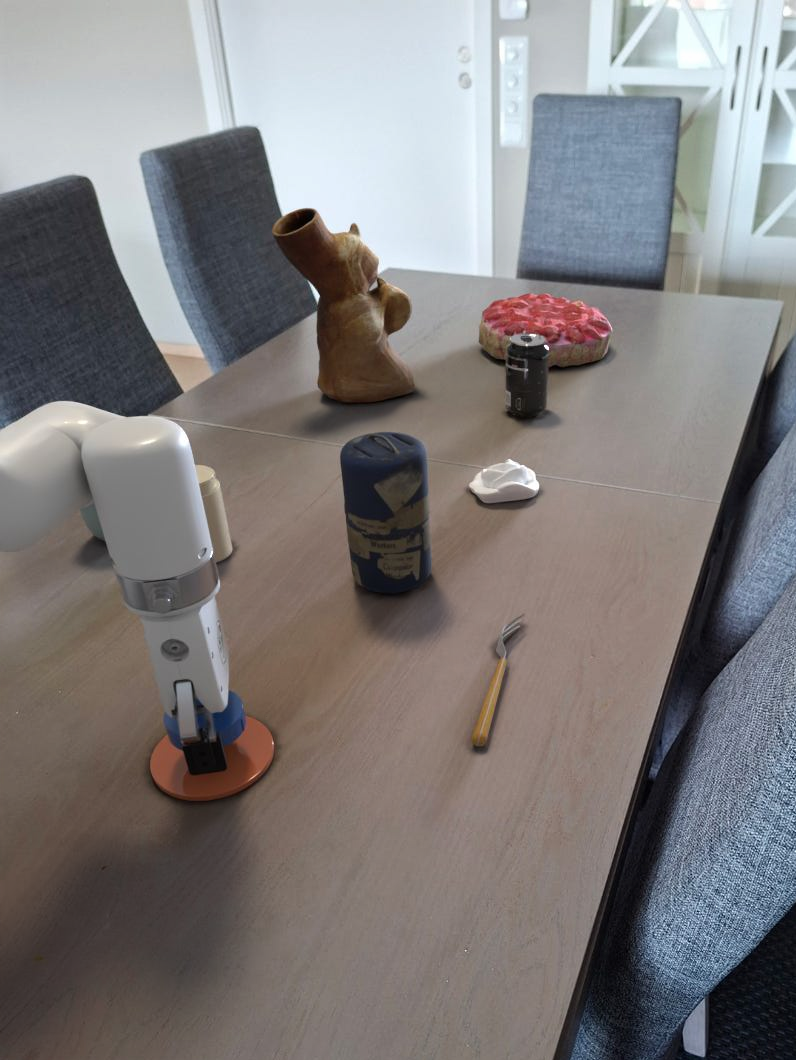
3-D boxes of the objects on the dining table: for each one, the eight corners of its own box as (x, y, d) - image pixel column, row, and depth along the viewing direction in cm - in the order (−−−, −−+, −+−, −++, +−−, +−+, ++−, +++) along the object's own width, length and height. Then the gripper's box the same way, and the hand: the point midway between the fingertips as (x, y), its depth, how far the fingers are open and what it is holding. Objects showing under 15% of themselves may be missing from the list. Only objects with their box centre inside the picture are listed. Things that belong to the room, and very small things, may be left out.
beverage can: (537, 401, 152) (539, 330, 145) (552, 416, 146) (556, 343, 139) (499, 406, 150) (499, 334, 143) (513, 422, 145) (514, 347, 138)
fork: (491, 738, 82) (525, 611, 98) (472, 732, 82) (509, 606, 98) (485, 756, 84) (519, 628, 99) (466, 750, 84) (503, 623, 99)
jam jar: (178, 568, 109) (159, 489, 103) (181, 542, 114) (163, 465, 108) (232, 562, 110) (216, 484, 104) (233, 536, 116) (218, 460, 109)
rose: (513, 484, 117) (453, 466, 122) (512, 515, 120) (454, 495, 124) (553, 457, 124) (495, 440, 128) (552, 486, 126) (495, 469, 131)
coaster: (146, 810, 77) (144, 805, 77) (156, 726, 86) (155, 721, 86) (275, 790, 79) (274, 785, 79) (273, 710, 88) (272, 705, 88)
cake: (471, 324, 182) (473, 284, 177) (592, 324, 185) (597, 285, 180) (485, 375, 163) (487, 331, 158) (619, 374, 166) (626, 332, 161)
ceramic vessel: (432, 394, 155) (424, 204, 137) (316, 424, 145) (292, 223, 127) (386, 368, 165) (373, 189, 148) (276, 394, 155) (248, 205, 138)
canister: (366, 607, 102) (351, 461, 92) (342, 567, 109) (326, 427, 99) (444, 588, 105) (439, 445, 95) (416, 550, 112) (408, 413, 102)
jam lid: (257, 706, 83) (254, 690, 82) (230, 757, 77) (227, 740, 76) (186, 700, 84) (182, 684, 83) (155, 749, 78) (150, 733, 77)
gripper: (213, 632, 65) (253, 805, 75) (219, 518, 79) (252, 678, 89) (104, 646, 64) (160, 819, 74) (130, 528, 77) (174, 688, 88)
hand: (210, 741), depth 81 cm, fingers closed on jam lid, 6 cm apart
